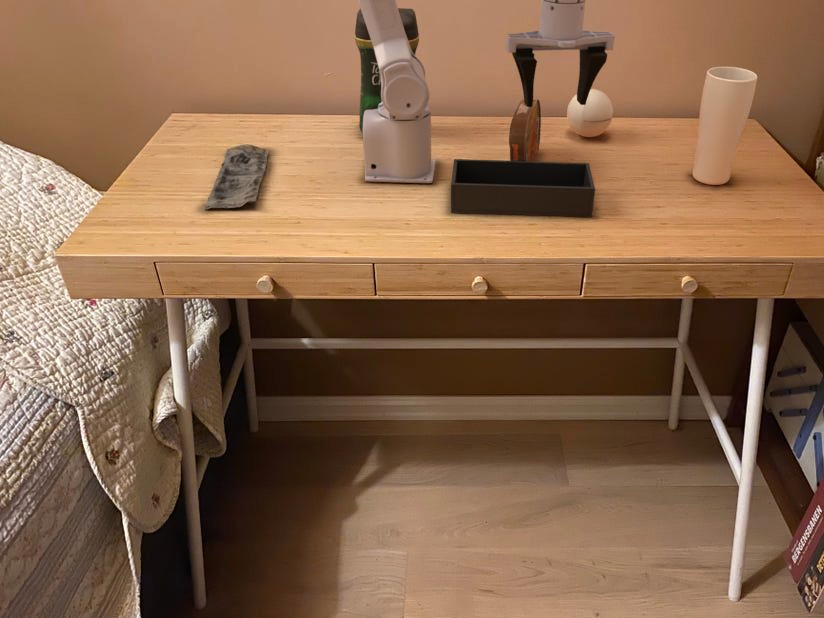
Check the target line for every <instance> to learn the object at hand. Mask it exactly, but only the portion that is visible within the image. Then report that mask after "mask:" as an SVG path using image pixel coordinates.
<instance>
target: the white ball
mask: <svg viewBox="0 0 824 618" xmlns="http://www.w3.org/2000/svg"><path fill="white" fill-rule="evenodd" d="M624 111H625V112H626V109H624V110H623V109H622V110H620V112H624ZM617 112H619V110H617V111H616V110H614V107H613V104H612V101H611V99H610V97H608V95H607V94H606V93H604V92H603V91H601V90H599V89H596V88H591V89H590V92H589V95H588V98H587V101H586V105H581V104H580V103H579V102H578V101H577V93H576V94H574V96H572V98H571V100H570V101H569V102H568V105H567V109H566V118H567V122H568V124H569V127H570V128H571V129H572V130H573V131H574V132H575V134H577V135H579V136H582V137H584V138H593V137H598V136H601V134H603V133H605V132H606V131H607V129H608V128H609V127H610V125H611V124H612V121H613V117H614V113H617Z"/></svg>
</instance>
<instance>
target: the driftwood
mask: <svg viewBox="0 0 824 618" xmlns="http://www.w3.org/2000/svg"><path fill="white" fill-rule="evenodd" d="M269 155H270V153H269V151H268V150H267V149H266V148H262V147H258V146H256V145H254V144H240V145H236V146H233V147H230V148H226V152H225V154H224V160H223V162H222V163H221V164H220V166H221V167H220V168H219V170H218V173H217V176H216V178H215V181H214V183H213V185H212V186H213V187H212V189H211V191H210V194H209V196H208V197H207V200H206V203H205V206H204V211H207V210H209V209H213V208H214V209H215V208H216V209H217V208H218V209H223V208H224V209H230V208H231V209H233V208H240V207H243V206H244V205H245V204H247V203H257V202H258V200H257V197H258V195H259V190H260V185H261V183H262V180H263V179H264V174H265V171H266V167H267V163H268V156H269Z"/></svg>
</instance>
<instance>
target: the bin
mask: <svg viewBox="0 0 824 618" xmlns="http://www.w3.org/2000/svg"><path fill="white" fill-rule="evenodd" d="M450 180H451V181H450V213H451V214H478V215H507V216H508V215H511V216H538V217H539V216H541V217H543V216H544V217H545V216H546V217H574V218H575V217H577V218H578V217H579V218H593V211H594V204H595V194H596V187H595V181H594V178H593V173H592V169H591V166H590V163H589V162H570V161H569V162H568V161H563V162H562V161H536V160H535V161H510V160H500V159H499V160H497V159H468V158H467V159H466V158H465V159H464V158H453V163H452V172H451V179H450Z"/></svg>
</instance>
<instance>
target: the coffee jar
mask: <svg viewBox="0 0 824 618" xmlns="http://www.w3.org/2000/svg"><path fill="white" fill-rule="evenodd" d="M398 11H399V14H400V17H401V20H402V24H403V27H404V30H405V33H406V36H407V39H408V41H409V45H410V48H411V50H412V52H413V54H414V55H415V56H416V52H417V48H418V46H419V42H420V33H419V26H418V21H417V20H418V19H417V15H416V12H415V10H414V9H413V8H405V7H404V8H403V7H402V8H401V7H398ZM354 29H355V30H354V41H355V45H356V47H357V49H358V52H359V56H360V57H359V58H360V96H359V129H360V132H361V133H362V134H363V117H364V112H365V110H373V109H378V105H379V103H381V101H382V99H381V81H380V70H379V67H378V63H377V59H376V55H375V51H374V47H373V44H372V41H371V38H370V35H369V32H368V29H367V26H366V23H365V20H364V17H363V14H362V11H361V8H360V7H359V9H358V11H357V13H356V20H355V28H354Z"/></svg>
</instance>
